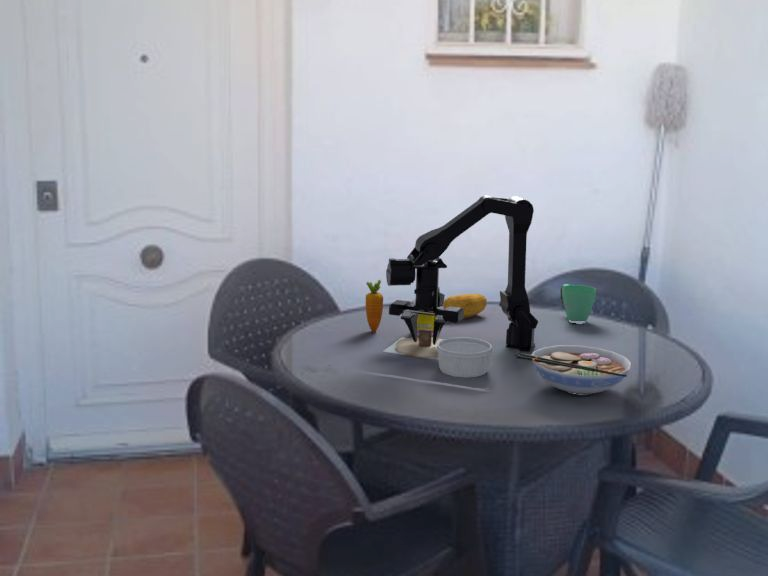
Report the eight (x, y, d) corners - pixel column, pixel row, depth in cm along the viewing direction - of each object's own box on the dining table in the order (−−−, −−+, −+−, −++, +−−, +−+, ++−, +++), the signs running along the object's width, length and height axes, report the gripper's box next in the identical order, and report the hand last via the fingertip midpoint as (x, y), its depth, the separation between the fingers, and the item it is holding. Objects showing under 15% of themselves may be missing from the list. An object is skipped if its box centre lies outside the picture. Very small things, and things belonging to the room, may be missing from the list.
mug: (600, 325, 267) (603, 292, 265) (570, 327, 265) (572, 293, 262) (575, 312, 281) (578, 280, 279) (546, 314, 278) (548, 282, 276)
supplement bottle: (436, 338, 251) (438, 292, 248) (412, 337, 251) (413, 291, 248) (435, 331, 258) (437, 286, 255) (412, 330, 258) (413, 285, 255)
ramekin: (446, 383, 216) (447, 354, 215) (428, 365, 229) (429, 338, 227) (499, 379, 220) (500, 351, 219) (478, 362, 232) (479, 335, 231)
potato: (491, 317, 273) (493, 294, 271) (450, 323, 266) (451, 299, 265) (478, 312, 279) (479, 289, 278) (437, 317, 273) (438, 293, 271)
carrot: (362, 334, 253) (363, 281, 249) (367, 329, 258) (368, 277, 254) (380, 336, 252) (381, 282, 248) (384, 331, 256) (385, 278, 253)
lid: (461, 344, 244) (461, 326, 243) (443, 360, 231) (444, 341, 230) (407, 337, 250) (408, 319, 248) (387, 353, 236) (387, 334, 235)
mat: (465, 347, 243) (465, 346, 243) (449, 363, 231) (449, 361, 231) (401, 339, 250) (401, 337, 250) (382, 353, 237) (382, 351, 237)
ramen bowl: (645, 386, 217) (649, 353, 215) (616, 416, 198) (619, 380, 196) (545, 367, 229) (547, 335, 227) (508, 393, 210) (510, 359, 208)
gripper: (471, 281, 240) (468, 339, 244) (403, 274, 247) (402, 330, 250) (458, 291, 230) (456, 351, 234) (388, 283, 237) (387, 341, 240)
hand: (425, 343), depth 240 cm, fingers open, 5 cm apart
